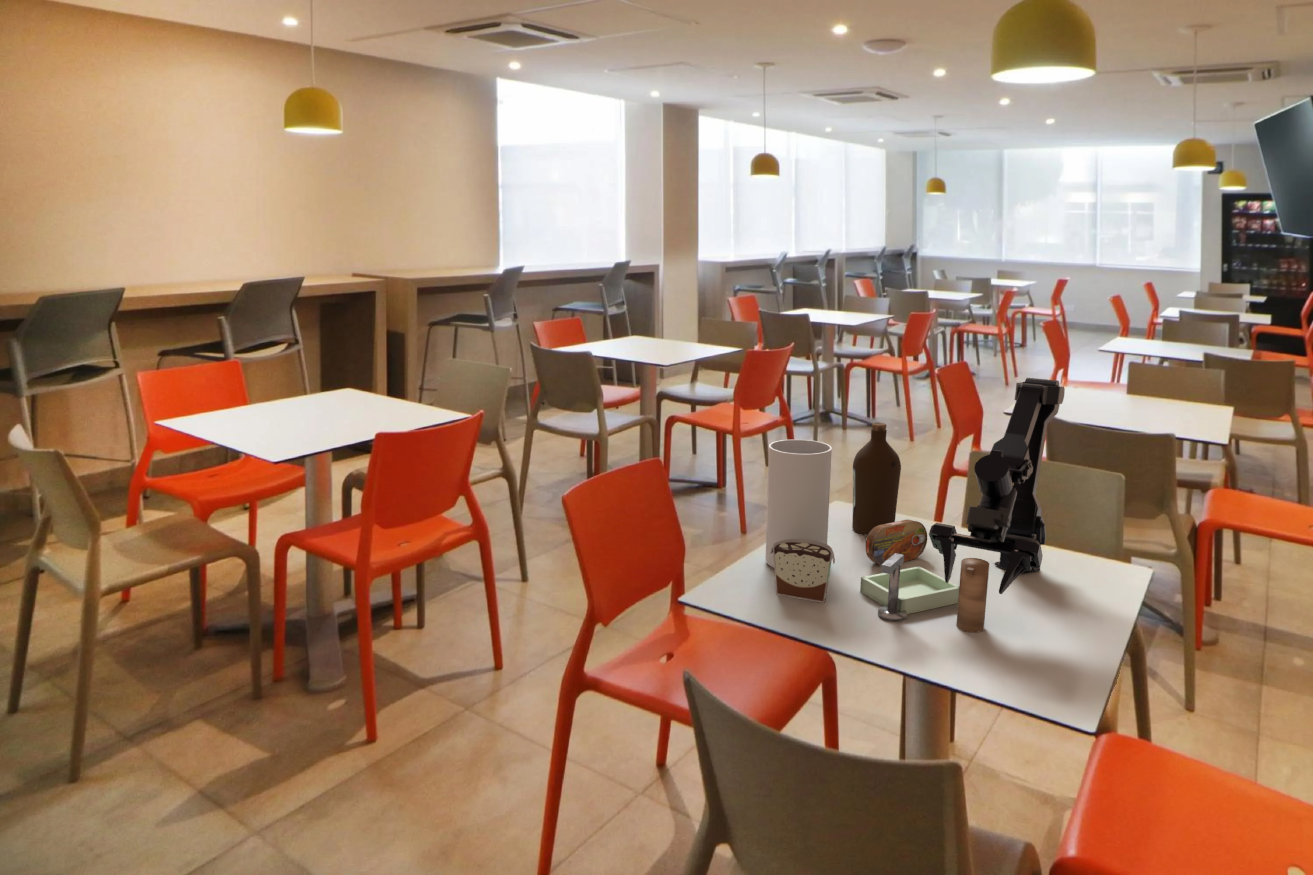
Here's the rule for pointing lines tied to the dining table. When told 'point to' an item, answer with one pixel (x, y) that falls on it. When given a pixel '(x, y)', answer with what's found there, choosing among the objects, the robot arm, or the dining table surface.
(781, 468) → the cylinder vase
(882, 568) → the t stake
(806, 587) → the food container
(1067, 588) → the dining table surface
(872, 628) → the dining table surface
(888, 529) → the tin
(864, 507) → the olive oil
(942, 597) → the tray
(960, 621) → the brown coffee tumbler
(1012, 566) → the robot arm
